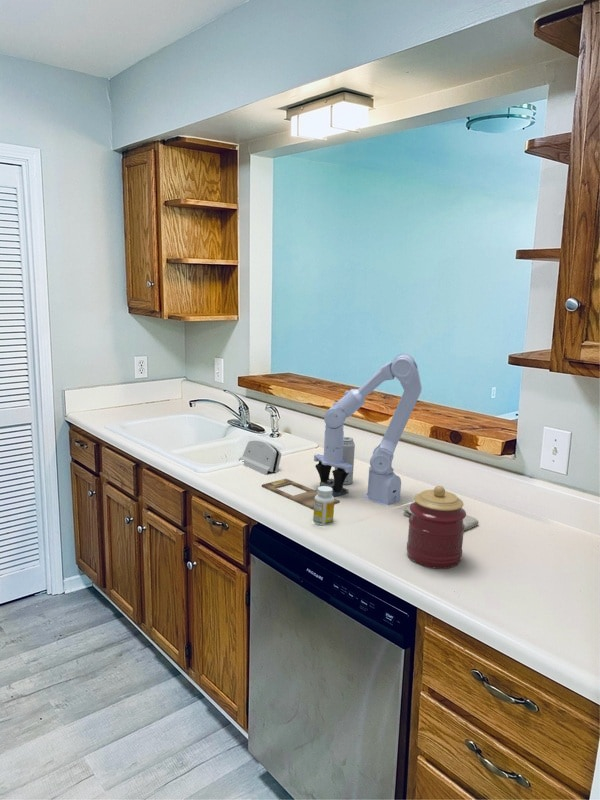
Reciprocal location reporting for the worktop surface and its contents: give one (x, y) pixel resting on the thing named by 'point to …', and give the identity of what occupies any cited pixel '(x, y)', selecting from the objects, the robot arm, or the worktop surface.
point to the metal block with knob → (330, 485)
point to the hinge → (261, 457)
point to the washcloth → (467, 521)
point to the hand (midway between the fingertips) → (331, 489)
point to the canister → (436, 528)
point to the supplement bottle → (323, 506)
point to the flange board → (302, 498)
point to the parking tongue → (339, 493)
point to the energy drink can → (348, 457)
